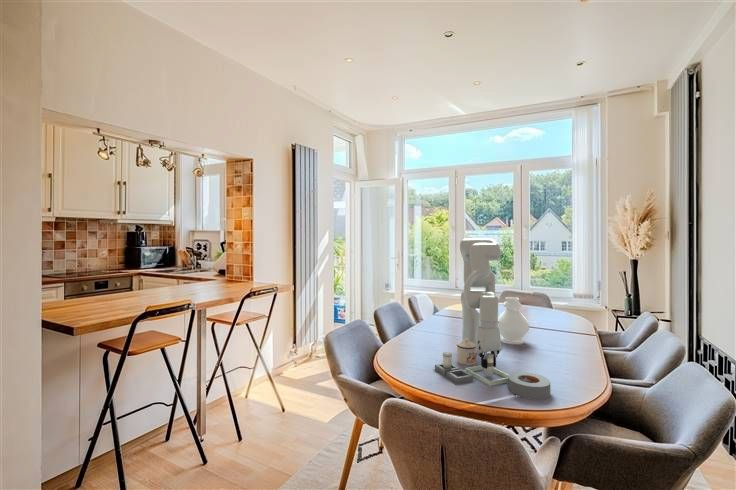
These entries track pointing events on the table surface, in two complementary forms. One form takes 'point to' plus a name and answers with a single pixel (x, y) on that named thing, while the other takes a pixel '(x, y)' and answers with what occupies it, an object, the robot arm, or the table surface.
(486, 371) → the fuse
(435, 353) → the table surface
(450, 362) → the cylinder
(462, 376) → the fuse holder
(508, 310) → the decorative vase
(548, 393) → the tape roll
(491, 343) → the robot arm
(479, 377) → the parts tray
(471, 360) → the teacup with lid
